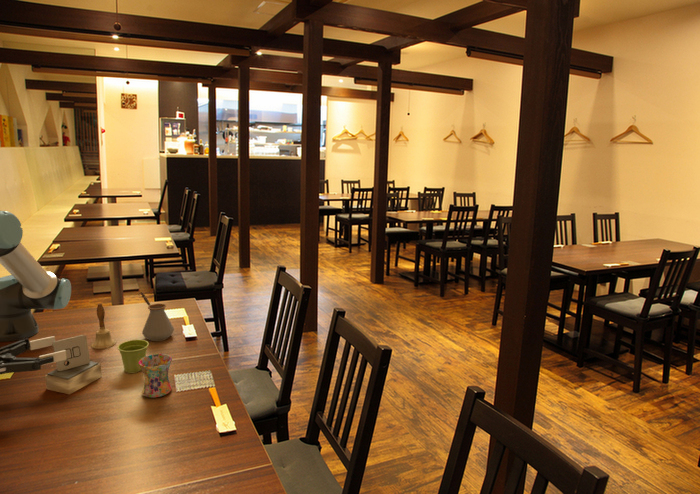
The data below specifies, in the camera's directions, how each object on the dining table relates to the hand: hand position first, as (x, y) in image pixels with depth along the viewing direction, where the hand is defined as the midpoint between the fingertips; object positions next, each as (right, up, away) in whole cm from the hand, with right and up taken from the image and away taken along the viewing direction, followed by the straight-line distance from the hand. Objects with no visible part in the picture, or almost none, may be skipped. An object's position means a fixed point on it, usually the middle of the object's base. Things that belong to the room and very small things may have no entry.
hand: (60, 347), depth 142 cm
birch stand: (+2, -12, +5) cm, 13 cm away
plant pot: (+16, -11, +15) cm, 24 cm away
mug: (+28, -14, +2) cm, 32 cm away
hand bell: (-4, -6, +33) cm, 34 cm away
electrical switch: (0, -7, +5) cm, 9 cm away
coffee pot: (+10, -4, +45) cm, 46 cm away
